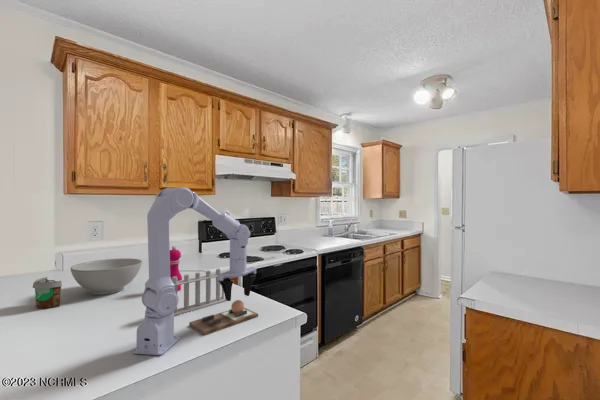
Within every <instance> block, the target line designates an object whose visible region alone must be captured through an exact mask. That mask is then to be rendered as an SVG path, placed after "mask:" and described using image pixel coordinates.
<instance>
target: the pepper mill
mask: <svg viewBox="0 0 600 400" xmlns="http://www.w3.org/2000/svg"><path fill="white" fill-rule="evenodd" d="M181 256H182V253H181V251H180V250H178V249H177V247H176V246H175V245H172V247H171V249H170V277H171V279H172V277H177V278H178V279H177V281H181V280H183V277H182V274H181V272H180V270H179V264H180V261H181V260H180V258H181ZM181 290H182V285H177V292H179V291H181Z"/></svg>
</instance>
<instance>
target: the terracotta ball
mask: <svg viewBox="0 0 600 400" xmlns="http://www.w3.org/2000/svg"><path fill="white" fill-rule="evenodd" d="M230 306H231V308H230V309H232V311H233V312H234V313H238V312H241V311H243V310H244V308H245V303H244V302H243V300H239V299H236V300H235V301H233V302H232V304H231V305H230Z"/></svg>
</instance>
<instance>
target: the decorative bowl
mask: <svg viewBox="0 0 600 400" xmlns="http://www.w3.org/2000/svg"><path fill="white" fill-rule="evenodd" d="M142 264H143V261H142V260H141V259H140V258H139V259H138V258H130V257H129V258H123V257H122V258H108V259H107V258H105V259H97V260H90V261H85V262H81V263H77V264H75V265H72V266H71V267H69V269H70V272H71V275H72V277H73V278H74V281H75V282H76V283H77V284H78V285H79V286H80V287H82V288H83V289H85V290H88V291H90V293H91V294H92V295H111V294H115V293H119V292H121V291H123V290H124V289H125V287H126V286H128V285H129V284H130V283H131V282H133V280H134V279H135V278H136V276H137V275H138V274H139V271H140V270H141V267H142Z"/></svg>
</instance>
